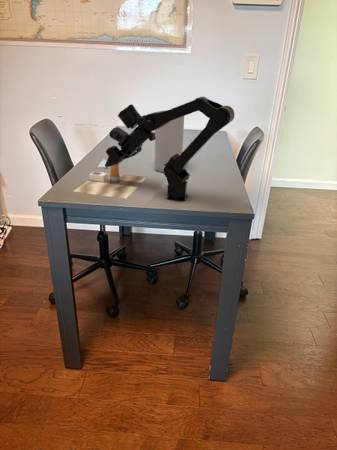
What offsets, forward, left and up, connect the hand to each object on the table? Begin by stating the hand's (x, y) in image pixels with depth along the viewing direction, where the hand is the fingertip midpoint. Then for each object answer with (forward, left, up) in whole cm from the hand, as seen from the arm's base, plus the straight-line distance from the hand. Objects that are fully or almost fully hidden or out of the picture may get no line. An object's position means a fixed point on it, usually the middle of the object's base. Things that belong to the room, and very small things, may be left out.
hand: (112, 163), depth 132 cm
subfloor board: (-1, +3, -9) cm, 10 cm away
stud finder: (+6, 0, -7) cm, 10 cm away
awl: (-1, 0, -7) cm, 8 cm away
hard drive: (+12, -24, -10) cm, 29 cm away
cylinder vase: (-16, -28, -9) cm, 33 cm away
